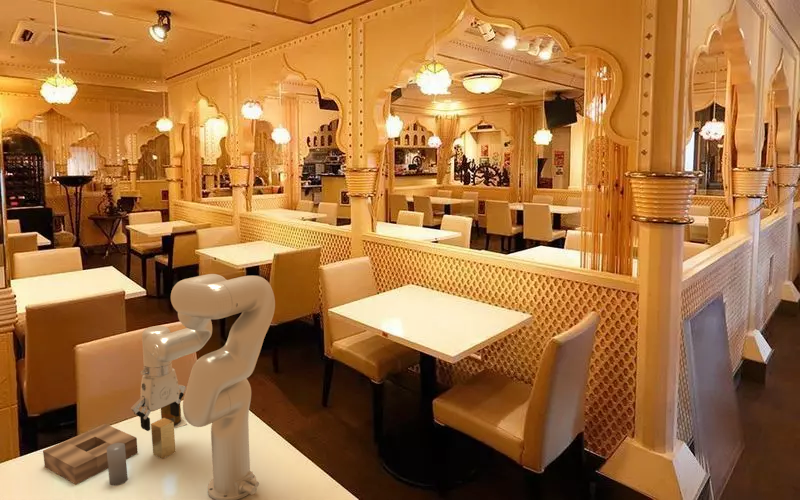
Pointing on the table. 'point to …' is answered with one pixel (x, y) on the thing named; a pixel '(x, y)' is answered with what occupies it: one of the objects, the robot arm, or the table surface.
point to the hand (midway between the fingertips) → (160, 422)
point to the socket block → (87, 453)
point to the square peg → (163, 438)
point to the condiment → (167, 414)
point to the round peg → (117, 463)
